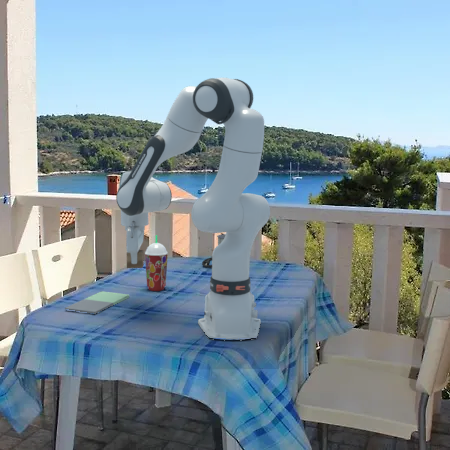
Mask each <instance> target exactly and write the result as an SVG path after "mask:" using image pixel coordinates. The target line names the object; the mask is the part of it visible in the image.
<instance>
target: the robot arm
mask: <svg viewBox="0 0 450 450" xmlns="http://www.w3.org/2000/svg"><path fill="white" fill-rule="evenodd" d="M253 102H254V92H253V90H252V88H251V86H250V85H249V84H248V83H246V82H245V81H244V80H242V79H238V78H228V77H216V78H215V77H214V78H213V77H212V78H211V77H210V78H207V79H204V80H203V81H200V82H199V84H197V86H196V85H189V86H185V87H184V88H182V89H181V90H180V92H179V93H178V95H177V97H176V98H175V100H174V101H173V103H172V104H171V107H170V109H169V111H168V114H167V116H166V118H165V120H164V122H163V124H162V125H161V127H160V128H159V129H158V131H157V132H156V133H155V135H154V136H153V137H152V138H150V139H149V140H148V142H147V143H146V145H145V146H144V147H143V150H142V151H141V153H140V155H139V156H138V158H137V160H136V162H135V164H134V165H133V168H132V169H130V170H126V171H124V172H123V173H122V176H121V179H120V186H119V188H118V190H117V192H116V197H115V199H116V204H117V206H118V208H119V209H120V225H121V226H122V227H124V230H125V231H126V239H125V240H126V247H125V248H126V253H127V252H128V253H131V263H132V264H137V252H138V251H139V250H141V246H142V245H143V243H144V238H145V230H146V228H145V227H146V226H148V225H149V224H150V223H149V221H150V219H149V213H154V212H160V211H161V212H162V211H163V210H167V209H168V208H169V207H170V205H171V202H172V199H173V196H172V190H171V188H170V186H169V185H168V183H166V182H165V181H162V180H161V181H160V180H159V179H156V178H154V177H153V176H154V174H155V172H156V170H157V169H158V167H159V166H160V165H161V164H163V162H165V161H167V160H169V159H171V158H173V157H176V156H178V155H181V154H184V153H187V152H188V151H189V152H190V150H192V149H193V148H194V146H196V144H197V142H198V141H199V138H200V137H201V135H202V133H203V129H204V128H205V125H206V124H207V123H206V122H207V121H208V119H209V120H210V121H212V122H213V123H215V124H216V125H222V124H223V126H224V128H225V133H224V141H223V144H222V145H223V146H222V152H221V157H220V162H219V167H218V169H217V174H216V176H215V178H214V180H213V181H212V183H211V185H210V186H209V188H208V189H207V190H206V192H204V193H203V195H202V196H200V197H198V199H196V200H195V201H194V203H193V205H192V208H191V214H190V215H191V221H192V223H193V225H194V227H195V228H196V229H197V230H198V231H200V232H202V233H203V232H204V233H211V234H218V233H219V234H220V233H221V234H223V233H225V234H226V235H225V238H224V239H223V241H222V242H221V243H220V244H219V245H218V244H217V245H216V246H215V248H214V249H213V251H212V254H211V255H212V256H211V258H212V261H211V265H212V268H211V276H210V279H209V288H210V291H209V292H208V293H207V294H206V295H205V298H204V315H203V318H199V319H198V320H197V321H198V322H197V324H198V326H199V328H201V330H202V332H205V333H204V335H205V336H206V335H207V336H208V337H210V338H226V339H238V338H239V339H240V338H254V337H257V336H258V337H259V334H258V333H260V329H259V328H261V325H262V322H261V319H260V318H258V315H259V314H258V309H255V308H257V302H255V295H254V294H253V293H252V292H251V284H252V283H251V277H250V261H251V252H252V248H253V245H254V242H255V240H256V238H257V235H258V234H259V232H260V230H261V229H262V228H263V227H264V226H265V225H266V224H267V223H268V221H269V219H270V216H271V208H270V204H269V201H268V200H267V199H266V197H264V196H263V195H259V194H255V193H250V192H247V193H244V191H245V189H246V188H247V187H249V185H251V184H252V183H254V182H255V181H256V180H257V178H258V175H259V170H260V165H261V160H262V159H261V158H262V155H263V154H262V153H263V149H264V141H265V118H264V116H263V115H262V113H261V112H260V111H258V110H255V109H253V108H252V105H253ZM260 324H261V325H260ZM207 336H206V337H207ZM208 337H207V338H208Z"/></svg>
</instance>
